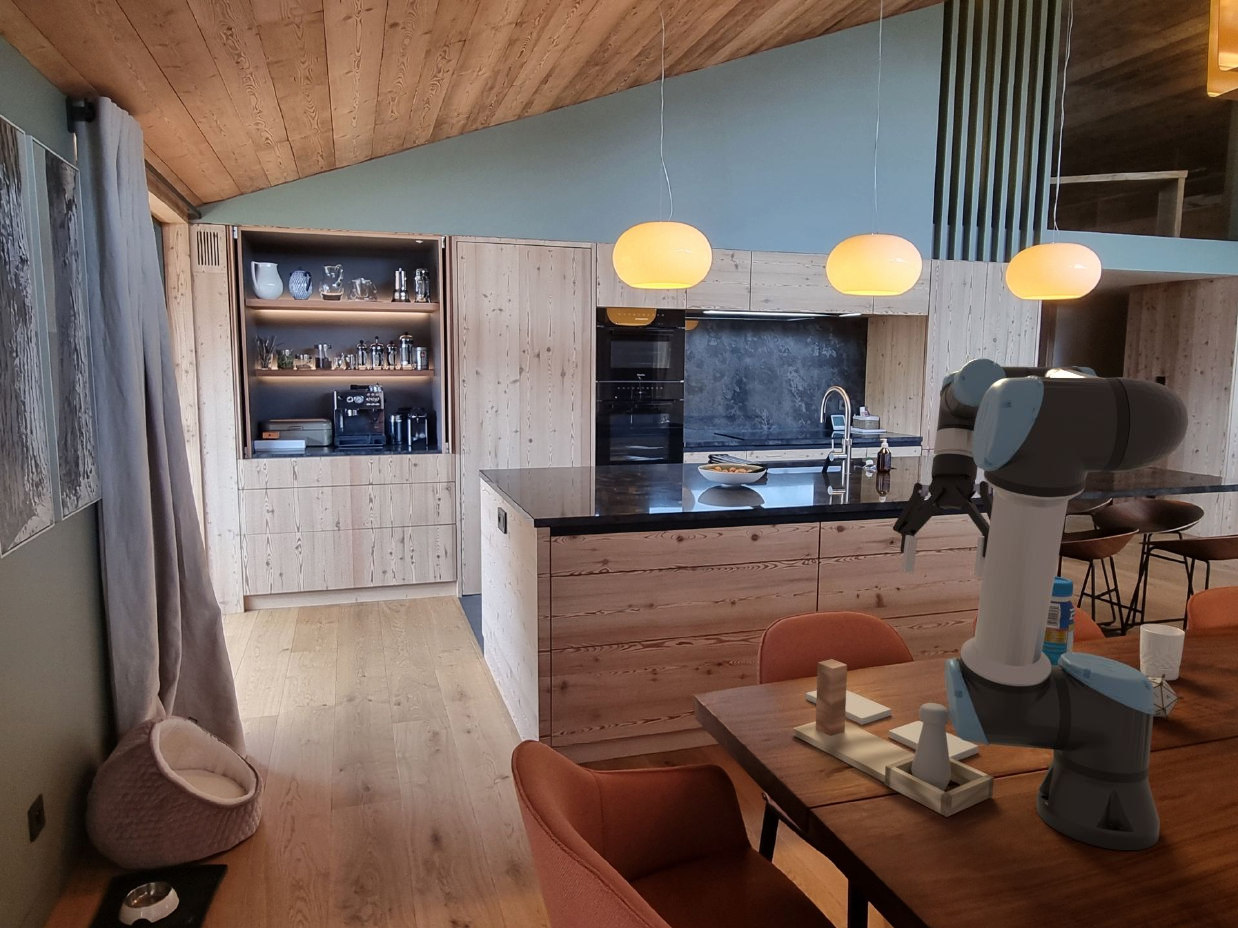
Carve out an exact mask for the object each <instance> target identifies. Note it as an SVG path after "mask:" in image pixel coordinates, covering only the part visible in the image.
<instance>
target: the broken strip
mask: <svg viewBox="0 0 1238 928" xmlns="http://www.w3.org/2000/svg"><path fill="white" fill-rule="evenodd" d="M805 699H806V700H807V701H809V702H812V703H813V704H816V700H817V689H816V690H813V691H809V692H805ZM890 716H892V708H890V707H887V706H885V705H882V704H880V703H878V702H875V701H874V700H871V699H869V698H866V697H864V696H861V695H859V694H857V693H854V692H852V691H850V690H847V689H846V711H845V719H848V720H850V721H853V722H855V723H856V724H859V725H862V726H863V725H866V724H868V723H872V722H875V721H877V720H881V719H884V718H887V717H890ZM922 726H923V721H922V720H916V721H913V722H909V723H908V724H904V725H902V726H898V727H895V728H892V729H889V730H888V738H890V739H892V740H894V741H896V742H898V743H900V744H903V745H905V746H907V747H909V748H911V749H913V750H915V751H916V748H917V745H918V741H919V737H920V734H921V730H922ZM946 737H947V744H948V752H949V757H950V758H952V759H954V760H956V761H961V760H964V759H966V758H969V757H970V756H973V755H976V754H978V753H979V745H977V744H975V743H974V742H968V741H964V740H962V739H961V738H959V737H958V736H956V735H955V734H954V735H953V734H951V733H950V732H949V733H948V732H947V731H946Z"/></svg>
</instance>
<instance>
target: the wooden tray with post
mask: <svg viewBox="0 0 1238 928" xmlns="http://www.w3.org/2000/svg"><path fill="white" fill-rule="evenodd" d="M816 673H817V675H816V676H817V677H816V679H817V680H816V690H817V700H816V703H815V704H816V706H815V721H812V722H809V723H806V724H802V725H798V726H796V727H792V736H795V737H797V738H798V739H800V740H802V741H804V742H806V743H807V744H810V745H811V746H813V747H815V748H817V749H819V750H821V751H823V752H826V753H827V754H829V755H831V756H833V757H835V758H837V759H839V760H840V761H842V762H844V763H846V764H848V765H850V766H852V767H854V768H855V769H858V770H860V772H861V771H862V772H863V773H866V774H867V775H869V776H871V777H873V778H874V779H877V780H879V781H880V782H883V783H884V785H885V786H887V787H889V788H891V789H892V790H894V791H896V792H897V793H900V794H902V795H904V796H905V797H907V798H909V799H912V800H914V801H915V802H917V803H918V804H921V805H923V806H925V807H927V808H929V809H930V810H932V811H934V812H936V813H939V814H940V815H942V816H944V817H946V818H947V817H949V816H952V815H954V814H956V813H958V812H961V811H963V810H966V809H967V808H970V807H972V806H974V805H976V804H979V803H981V802H984V801H985V800H988V799H990V798H992V797H993V796H994V781H995V780H994V778H995V777H994V776H991V775H990V774H987V773H984V772H983V771H981V770H979V769H976V768H975V767H972V766H969V765H968V764H966V763H962V762H961V761H960V760H958V761H956V760H954V759H952V758H950V757H949V759H950V767H951V779H950V781H952V782H954V783H956V784H959V786H957V787H955V788H953V789H951V790H947V791H945V790H944V791H942V790H940V789H938V788H936V787H934V786H932V785H930V784H928V783H926V782H924V781H922V780H920V779H918V778H916V777H914V776H913V775H912V772H911V767H912V763H913V759H914V756H915V753H913V751H912V752H911V751H909V750H907V749H905V748H902V747H901V746H898V745H896V744H894V743H892V742H890V741H888V740H885V739H884V738H881V737H880V736H877V735H875V734H873V733H870V732H868V731H866V730H865V729H863V728H860V727H858V726H856V725H855V724H854V725H853V724H852V723H850V722H847V721H846V717H845V711H846V690H847V681H848V680H847V679H848V677H847V676H848V664H847V663H843V662H840V661H838V660H835V659H833V658H830V659H826V660H822V661H818V662H817V672H816Z"/></svg>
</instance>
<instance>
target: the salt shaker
mask: <svg viewBox="0 0 1238 928" xmlns="http://www.w3.org/2000/svg"><path fill="white" fill-rule="evenodd" d="M918 716H919V719H920V721H921V722H923V726H922V730H921V734H920V737H919V741H918V745H917V748H916V750H915V753H914V754H915V756H914V759H913V763H912V767H911V772H912V775H913V776H914V777H916V778H918V779H920V780H922V781H924V782H926V783H928V784H930V785H932V786H934V787H936V788H938V789H940V790H942V791H944V792H945V790H946V788H947V787H948V786H949V785H948V784H950V781H951V780H950V779H951V767H950V759H949V752H948V744H947V737H946V732H947V730H946V729H947V728H946V725H947V724H948V723H949V721H950V712H949V709H948V708H947V707H946V706H945V705H942V704H939V703H937V702H936V703H935V702H926V703H923V704H921V705H920V707H919V710H918Z"/></svg>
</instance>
